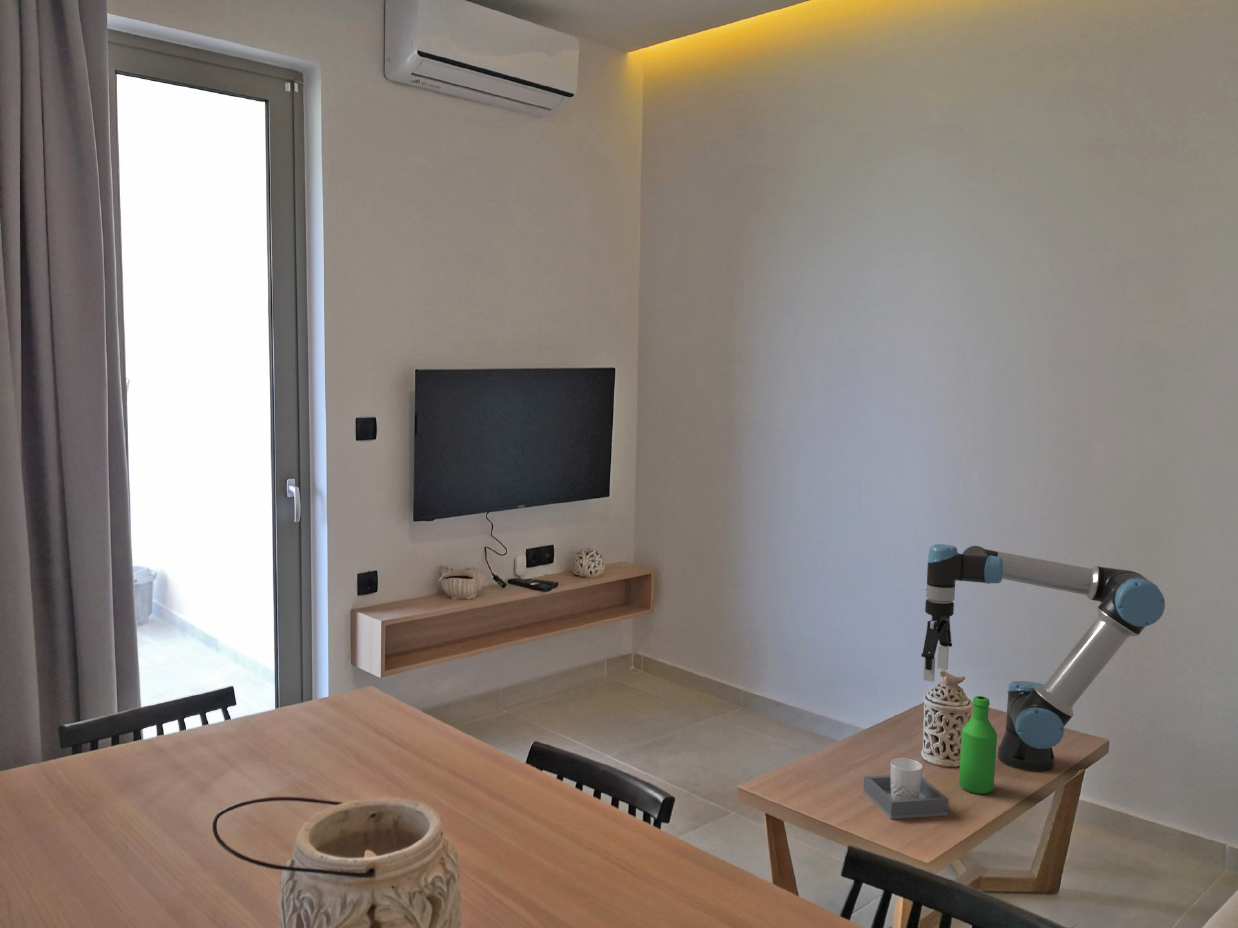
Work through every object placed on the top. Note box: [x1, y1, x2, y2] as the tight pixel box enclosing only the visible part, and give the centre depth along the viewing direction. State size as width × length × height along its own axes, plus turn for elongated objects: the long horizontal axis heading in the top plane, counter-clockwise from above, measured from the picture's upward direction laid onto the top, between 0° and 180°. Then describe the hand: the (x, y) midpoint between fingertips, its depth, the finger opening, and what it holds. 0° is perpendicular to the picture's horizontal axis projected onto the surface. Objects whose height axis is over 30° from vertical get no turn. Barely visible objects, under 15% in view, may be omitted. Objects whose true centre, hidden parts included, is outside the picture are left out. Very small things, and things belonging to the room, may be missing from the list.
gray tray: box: [863, 774, 950, 820], centre depth 243 cm, size 15×15×4 cm
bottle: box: [958, 695, 998, 795], centre depth 253 cm, size 9×9×25 cm
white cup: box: [890, 757, 924, 800], centre depth 242 cm, size 8×8×10 cm
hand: (935, 674), depth 265 cm, fingers open, 13 cm apart
